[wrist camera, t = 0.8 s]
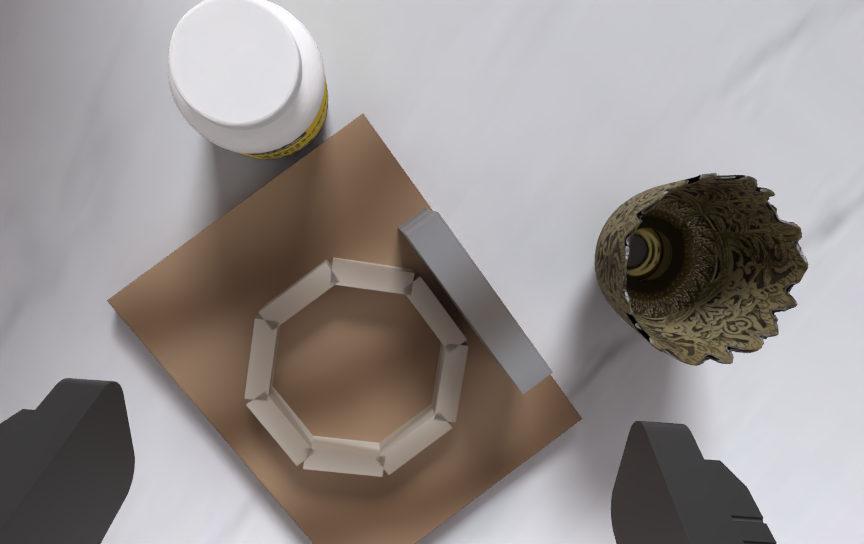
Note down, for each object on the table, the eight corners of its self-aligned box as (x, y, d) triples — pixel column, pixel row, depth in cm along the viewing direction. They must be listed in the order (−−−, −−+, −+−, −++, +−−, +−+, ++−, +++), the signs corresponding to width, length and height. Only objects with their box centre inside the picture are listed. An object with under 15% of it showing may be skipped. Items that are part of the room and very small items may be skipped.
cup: (727, 266, 34) (841, 291, 26) (612, 352, 34) (691, 403, 26) (651, 146, 32) (747, 133, 25) (530, 234, 32) (588, 250, 24)
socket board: (116, 296, 30) (57, 324, 24) (362, 116, 31) (365, 99, 25) (352, 575, 34) (353, 662, 27) (573, 410, 34) (623, 460, 28)
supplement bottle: (270, 185, 31) (234, 186, 21) (182, 96, 30) (101, 55, 20) (354, 103, 31) (356, 65, 21) (268, 12, 30) (229, -71, 20)
